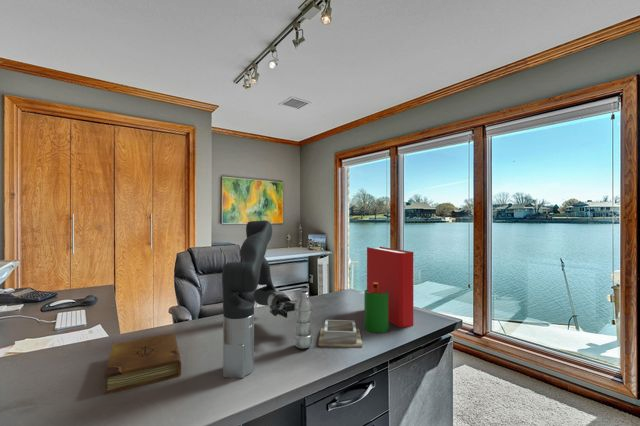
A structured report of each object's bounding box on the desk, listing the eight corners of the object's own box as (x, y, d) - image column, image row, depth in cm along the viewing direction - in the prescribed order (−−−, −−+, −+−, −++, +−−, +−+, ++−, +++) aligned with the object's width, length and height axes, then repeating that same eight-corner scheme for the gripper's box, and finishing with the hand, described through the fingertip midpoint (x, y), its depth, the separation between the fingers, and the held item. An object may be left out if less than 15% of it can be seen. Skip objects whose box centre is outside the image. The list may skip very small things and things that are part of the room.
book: (366, 309, 155) (366, 247, 156) (379, 307, 158) (380, 246, 159) (400, 327, 130) (400, 253, 130) (415, 325, 133) (415, 252, 134)
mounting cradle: (362, 347, 110) (362, 334, 110) (318, 346, 111) (318, 333, 111) (359, 330, 126) (359, 319, 126) (320, 329, 127) (321, 318, 127)
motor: (387, 325, 133) (387, 279, 133) (390, 333, 124) (390, 284, 124) (364, 324, 134) (364, 279, 134) (365, 332, 125) (365, 283, 125)
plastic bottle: (296, 352, 106) (296, 294, 107) (292, 344, 113) (293, 290, 113) (314, 349, 108) (314, 293, 108) (309, 342, 115) (309, 289, 115)
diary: (180, 378, 90) (181, 359, 90) (104, 396, 81) (104, 375, 81) (175, 348, 110) (175, 332, 110) (113, 360, 101) (113, 342, 101)
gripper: (263, 296, 125) (279, 305, 111) (294, 291, 132) (313, 300, 119) (263, 314, 125) (279, 326, 111) (294, 309, 132) (313, 319, 119)
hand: (296, 313), depth 115 cm, fingers open, 8 cm apart
